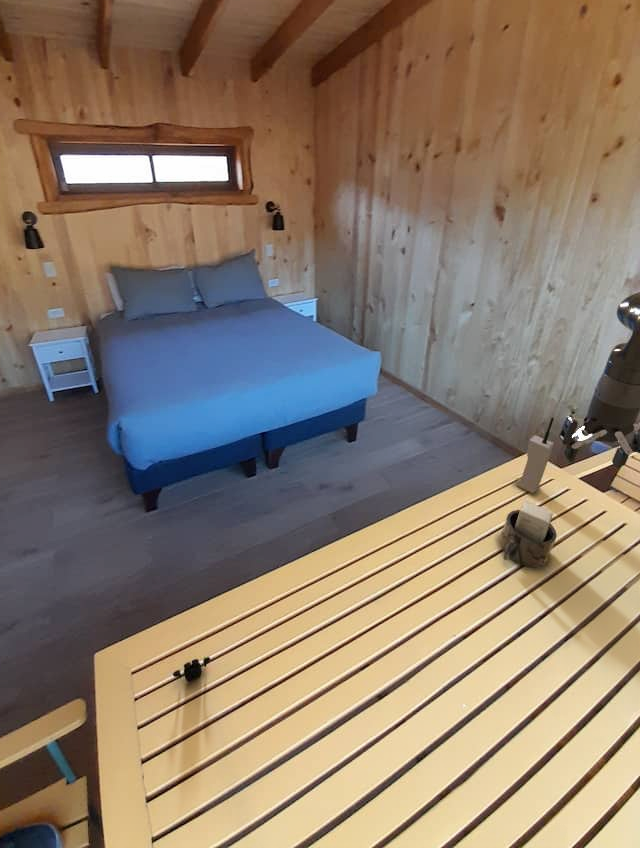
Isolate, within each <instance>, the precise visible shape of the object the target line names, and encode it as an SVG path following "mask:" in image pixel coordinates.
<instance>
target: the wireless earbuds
mask: <svg viewBox="0 0 640 848" xmlns="http://www.w3.org/2000/svg"><path fill="white" fill-rule="evenodd" d="M210 661H211V657H210V656H207V657H204V658H203V659H202V662H203V666H204V668H207V667H208V666H207V664H209V663H210ZM202 674H203V671H202V665H201V663H200V662H199V659H198V658H194V659H192V660H191V661H187V662H186V663H184V664H183V676H184V678H185V681H186V682H191V681H193V680H195V679H198V678H200V677H201V676H202ZM172 676H173V677H174V678H179V679H182V673H181V670H180V669H177V670H175V671H173V672H172Z"/></svg>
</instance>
